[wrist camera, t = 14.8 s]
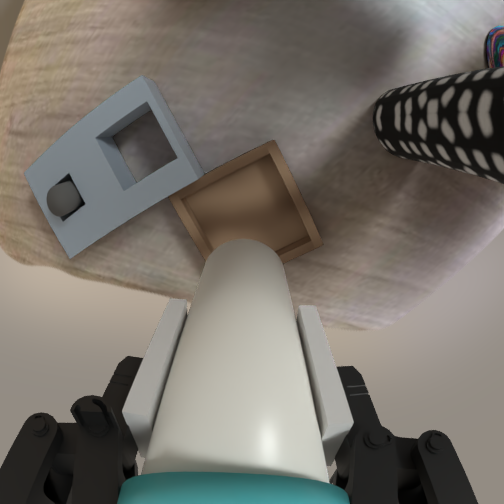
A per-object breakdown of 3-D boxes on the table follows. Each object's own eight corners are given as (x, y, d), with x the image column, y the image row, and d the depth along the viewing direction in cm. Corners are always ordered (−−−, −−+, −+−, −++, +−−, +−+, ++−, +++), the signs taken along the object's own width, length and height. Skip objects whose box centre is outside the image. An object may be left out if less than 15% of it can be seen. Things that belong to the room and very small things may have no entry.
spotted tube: (443, 131, 29) (575, 150, 10) (402, 172, 31) (532, 222, 12) (404, 75, 27) (532, 44, 8) (358, 116, 29) (483, 104, 10)
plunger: (63, 187, 30) (42, 195, 26) (81, 172, 30) (60, 178, 25) (76, 211, 31) (56, 222, 27) (95, 197, 31) (75, 206, 27)
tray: (173, 191, 32) (167, 195, 30) (272, 139, 30) (274, 139, 28) (225, 281, 36) (223, 290, 33) (319, 237, 34) (323, 244, 31)
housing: (42, 168, 30) (23, 173, 26) (154, 81, 27) (142, 74, 23) (85, 246, 34) (70, 259, 30) (204, 174, 31) (198, 179, 27)
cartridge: (195, 312, 19) (136, 548, 5) (199, 227, 17) (75, 493, 3) (282, 321, 20) (315, 560, 5) (298, 238, 18) (402, 509, 3)
